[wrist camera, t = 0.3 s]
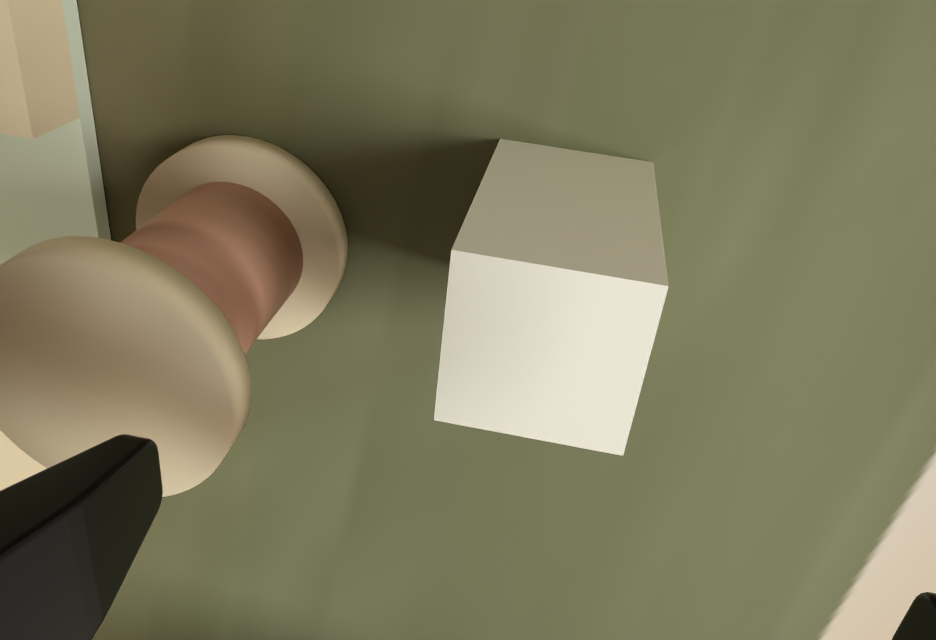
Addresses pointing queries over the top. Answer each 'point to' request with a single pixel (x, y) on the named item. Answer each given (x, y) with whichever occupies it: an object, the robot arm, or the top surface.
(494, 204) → the block
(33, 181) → the notched board
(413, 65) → the top surface
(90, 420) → the bobbin
